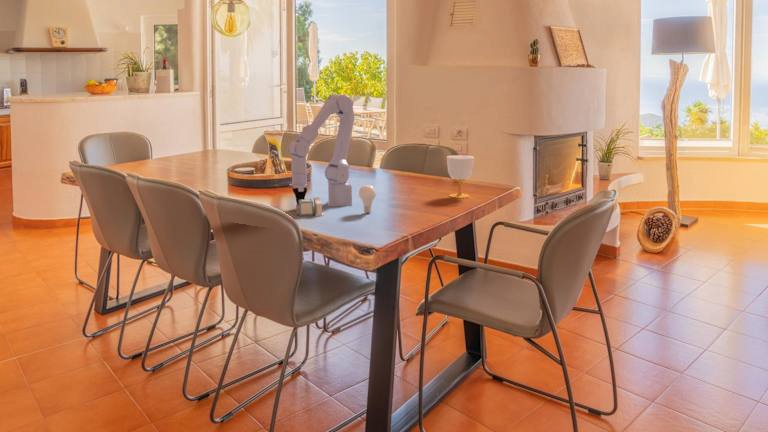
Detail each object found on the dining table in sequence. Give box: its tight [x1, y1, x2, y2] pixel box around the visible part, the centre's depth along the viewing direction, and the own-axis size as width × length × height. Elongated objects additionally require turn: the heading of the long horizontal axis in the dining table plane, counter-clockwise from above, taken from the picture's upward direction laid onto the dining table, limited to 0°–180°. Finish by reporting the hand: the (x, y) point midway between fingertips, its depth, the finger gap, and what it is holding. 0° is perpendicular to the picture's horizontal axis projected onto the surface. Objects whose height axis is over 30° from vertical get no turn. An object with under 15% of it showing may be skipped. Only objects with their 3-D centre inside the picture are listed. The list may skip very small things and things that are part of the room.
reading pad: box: [297, 212, 314, 218], centre depth 240 cm, size 5×6×1 cm
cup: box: [446, 154, 475, 199], centre depth 273 cm, size 12×12×17 cm
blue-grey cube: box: [298, 198, 314, 215], centre depth 239 cm, size 5×5×5 cm
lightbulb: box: [358, 184, 377, 215], centre depth 241 cm, size 6×6×11 cm
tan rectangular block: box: [313, 197, 325, 217], centre depth 242 cm, size 3×12×5 cm, turn 12°
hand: (300, 206), depth 249 cm, fingers closed
